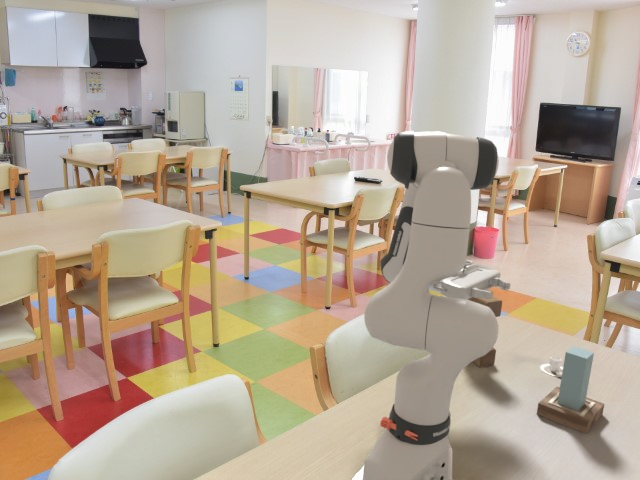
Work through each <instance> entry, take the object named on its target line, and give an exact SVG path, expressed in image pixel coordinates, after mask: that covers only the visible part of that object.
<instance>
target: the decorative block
mask: <svg viewBox="0 0 640 480" xmlns="http://www.w3.org/2000/svg"><path fill="white" fill-rule="evenodd" d="M468 300H470V301H473V302H476V303H479V304H482V305H484V306H487V307H489V308H490V309H491V310H492V311H493V313H494V315H495V316H496V318H498V317H500V316H501V314H502V306H503V300H501V299H499V298H497V297H496V296H493V297H492V298H491V299H489V300H488V299H485V298H474V297H472V298H470V299H468ZM496 353H497V349H495V347H493V348H492V349H491V350H490V351H489V352H488V353H487V354H486V355H484V356H482V357H479V358H477V359H475V360H474V361H472V362H471V363H474V364H475V365H476V366H477V367H480V368H483V367H488V366H492V365H495V361H496Z"/></svg>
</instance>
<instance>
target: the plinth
mask: <svg viewBox="0 0 640 480" xmlns="http://www.w3.org/2000/svg"><path fill="white" fill-rule="evenodd" d="M559 391H560V387H559V386H556V387H555V388H554V389H553V390H551V391H550V392H549V393H548V394H546V396H544V398H542V399H541V400H540V401H539V402H538V405H537V409H536V410H537V411H536V415H538V416H542V417H543V418H546V419H549V420H550V421H554V422H556V423H559V424H561V425H564V426H566V427H568V428H571V429H573V430H576V431H578V432H581V433H583V434H586V435H587V433H588V432H589V431H590V430H591V428H592V427H593V426H594V425H595V424H596V423H597V422H598V421H599V419H600V418H601V417H602V416H603V415H604V408H605V403H603V402H601V401H598V400H594V399H592V398H589V397H587V396H586V401H585V404H584V405H583V406H582V407H581V408H580V409H579V411H576V410H573V409H571V408H568V407H566V406H563V405H560V404H558V397H559Z"/></svg>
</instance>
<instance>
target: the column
mask: <svg viewBox="0 0 640 480" xmlns="http://www.w3.org/2000/svg"><path fill="white" fill-rule="evenodd" d="M564 354H565V355H564V360H563V366H562V367H563V369H562V370H563V372H562V377H561V380H560V387H559V388H560V391H559V397H558V404H560V405H563V406H566V407H568V408H571V409H573V410H576V411H579V409H580V408H581V407H582V406H583V405H584V404H585V401H586V397H587V395H588V389H589V383H590V377H591V372H592V367H593V362H594V356H595V355H594V354H595V352H594V351H591V350H588V349H584V348H581V347H579V346H578V347H577V346H575V345H572V346H571V347H570V348H569V349H567V351H565V353H564Z"/></svg>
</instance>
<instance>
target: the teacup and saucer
mask: <svg viewBox="0 0 640 480" xmlns="http://www.w3.org/2000/svg"><path fill="white" fill-rule="evenodd" d="M562 360H563V359H562V358H560V357H558V356H550V357H549V363H544V364H541V365H540V367H539V368H540V370H541V372H543V373H544V374H546V375H549V376H552V377H557V378H562V372H563V366H562V363H563V361H562ZM546 367H549V369H550V371H551V372H553V373H555V374H553V373H549V372H548V371H546V370H545V368H546Z"/></svg>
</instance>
